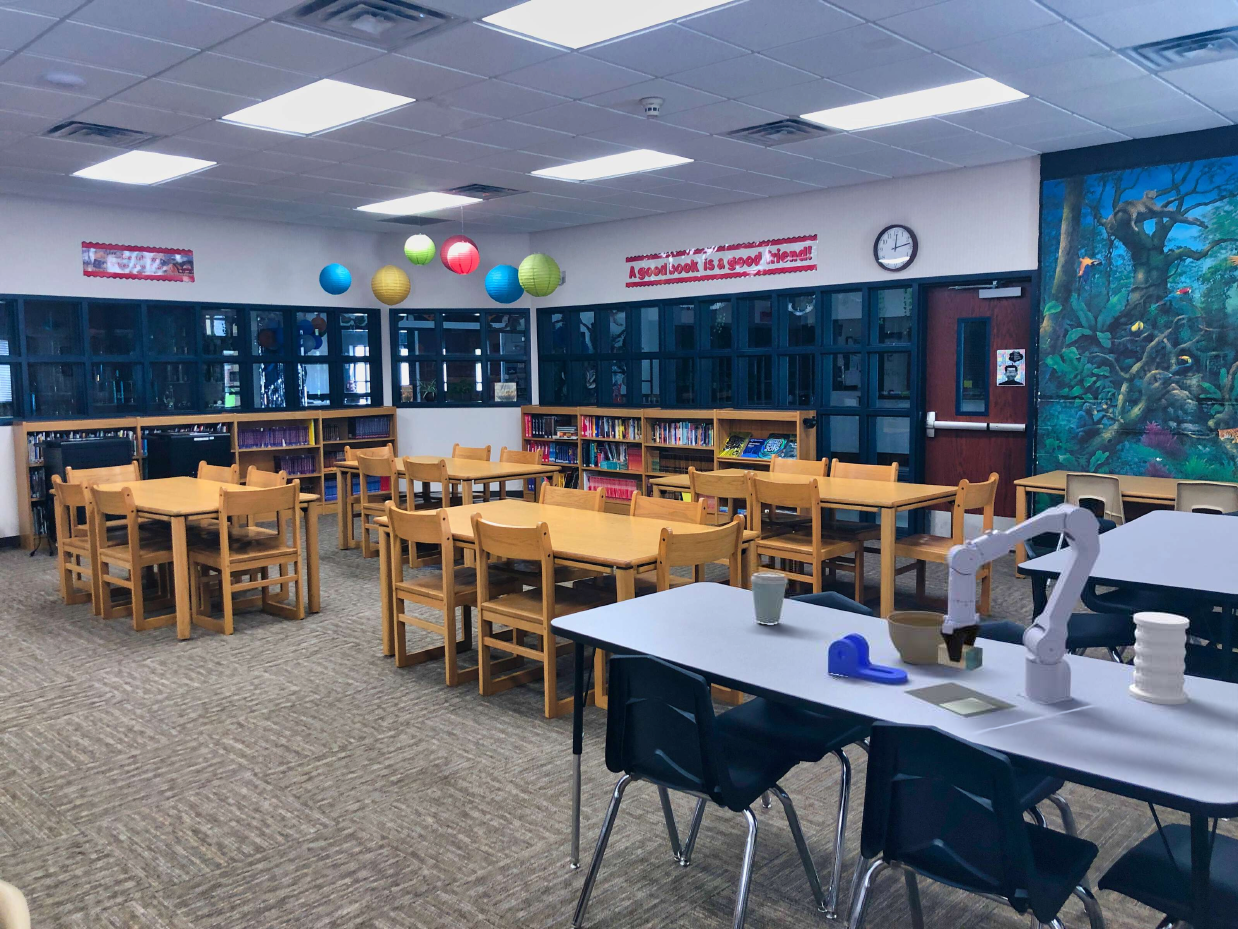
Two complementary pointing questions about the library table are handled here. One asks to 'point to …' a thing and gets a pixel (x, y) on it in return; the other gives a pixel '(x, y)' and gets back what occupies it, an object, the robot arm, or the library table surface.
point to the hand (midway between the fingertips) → (960, 658)
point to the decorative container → (1159, 658)
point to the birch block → (962, 657)
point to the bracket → (860, 662)
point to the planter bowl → (916, 635)
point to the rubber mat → (960, 699)
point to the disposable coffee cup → (768, 596)
